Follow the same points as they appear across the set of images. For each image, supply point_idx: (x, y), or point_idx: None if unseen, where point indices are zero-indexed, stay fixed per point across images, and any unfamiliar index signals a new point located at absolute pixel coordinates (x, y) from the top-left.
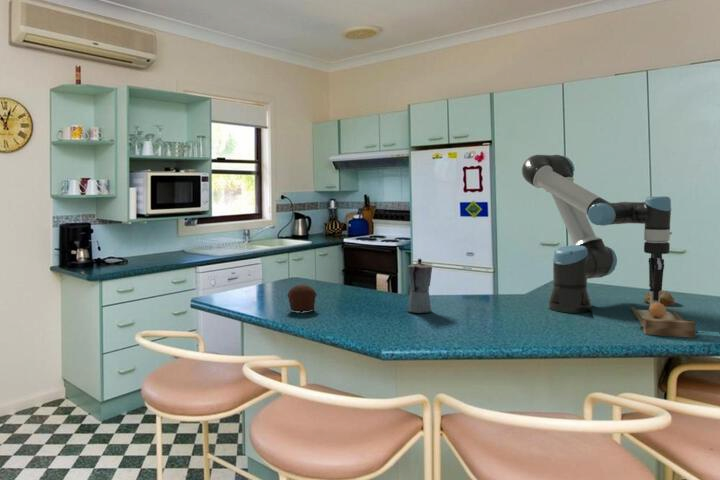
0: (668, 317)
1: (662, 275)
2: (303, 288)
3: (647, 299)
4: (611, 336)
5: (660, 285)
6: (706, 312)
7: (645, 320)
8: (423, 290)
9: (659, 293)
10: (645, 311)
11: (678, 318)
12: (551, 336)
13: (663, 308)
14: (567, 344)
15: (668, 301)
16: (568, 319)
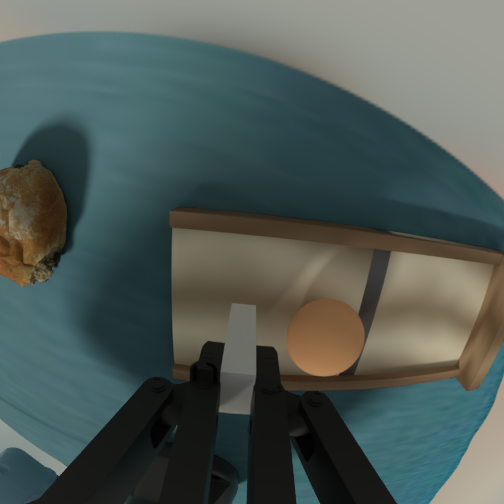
0: (315, 271)
1: (389, 496)
2: None
3: (32, 280)
4: (449, 416)
5: (342, 430)
6: (105, 53)
7: (474, 387)
8: None
9: (254, 367)
10: (201, 334)
11: (374, 248)
12: (421, 471)
13: (361, 327)
14: (460, 448)
15: (44, 200)
16: (307, 480)
